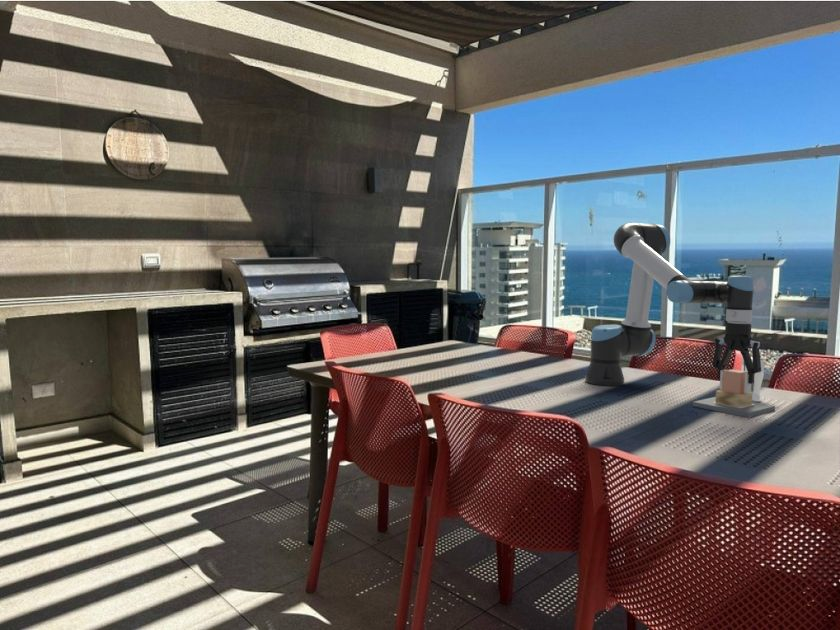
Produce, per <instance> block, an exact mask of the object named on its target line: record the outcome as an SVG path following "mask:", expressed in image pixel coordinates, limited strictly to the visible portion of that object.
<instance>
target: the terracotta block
mask: <svg viewBox="0 0 840 630" xmlns="http://www.w3.org/2000/svg"><path fill="white" fill-rule="evenodd" d="M724 370H725V372H724V389H723V391H724V392H730V393H735V394H742V393H744V389H745V374H746V373H747V371H741V370H739V369H724Z"/></svg>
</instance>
